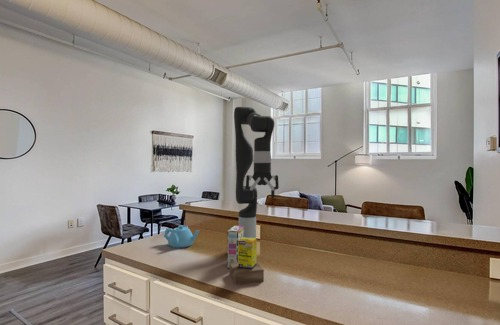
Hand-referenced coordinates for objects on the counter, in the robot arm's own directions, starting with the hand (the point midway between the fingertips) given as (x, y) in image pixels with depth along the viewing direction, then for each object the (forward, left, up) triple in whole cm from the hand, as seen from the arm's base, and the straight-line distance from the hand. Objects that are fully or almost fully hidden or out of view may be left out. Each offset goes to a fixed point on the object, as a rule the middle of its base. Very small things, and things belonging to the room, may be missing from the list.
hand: (262, 198), depth 127 cm
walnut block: (+12, -6, -30) cm, 33 cm away
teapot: (-32, -45, -30) cm, 63 cm away
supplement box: (+12, -6, -26) cm, 29 cm away
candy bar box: (-3, -12, -30) cm, 33 cm away
